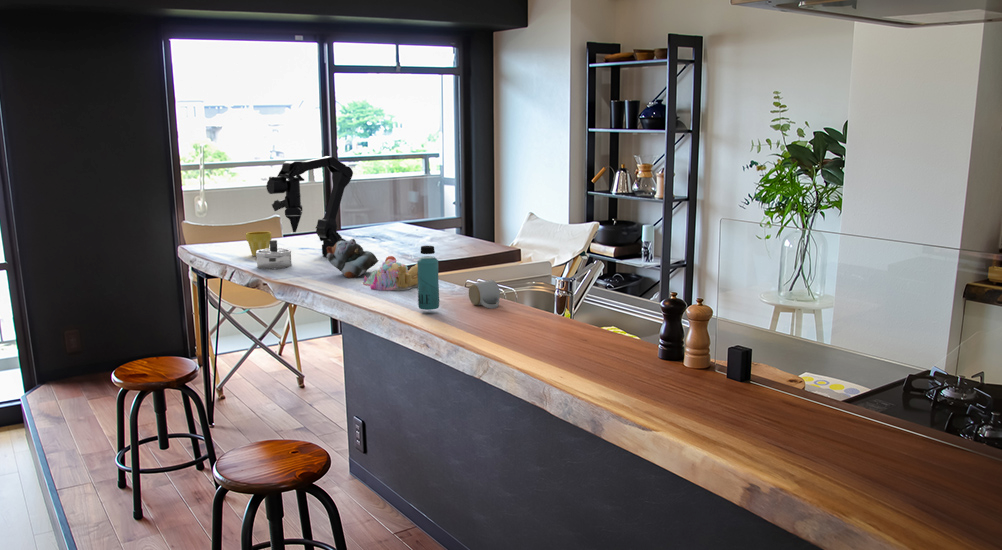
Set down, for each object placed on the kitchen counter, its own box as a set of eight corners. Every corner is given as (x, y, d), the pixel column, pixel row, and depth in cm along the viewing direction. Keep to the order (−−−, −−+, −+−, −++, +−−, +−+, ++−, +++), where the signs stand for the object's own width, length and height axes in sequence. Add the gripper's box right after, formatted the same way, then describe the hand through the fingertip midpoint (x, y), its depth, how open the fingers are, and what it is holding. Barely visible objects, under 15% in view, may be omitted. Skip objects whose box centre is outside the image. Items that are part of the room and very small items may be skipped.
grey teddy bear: (354, 279, 269) (332, 242, 267) (335, 289, 278) (313, 253, 276) (385, 260, 281) (364, 224, 279) (366, 270, 290) (345, 235, 288)
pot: (292, 261, 307) (291, 246, 305) (290, 269, 289) (289, 253, 288) (259, 262, 304) (258, 247, 303) (255, 271, 286) (254, 255, 285)
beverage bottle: (440, 309, 225) (439, 244, 221) (439, 314, 219) (438, 247, 215) (418, 309, 225) (417, 244, 221) (416, 315, 219) (415, 247, 215)
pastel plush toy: (444, 282, 267) (444, 257, 265) (404, 295, 247) (403, 267, 245) (388, 275, 279) (388, 251, 277) (346, 287, 259) (345, 260, 257)
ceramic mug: (467, 303, 233) (467, 280, 232) (488, 300, 237) (488, 277, 236) (483, 310, 225) (484, 286, 223) (505, 307, 229) (506, 283, 227)
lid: (287, 251, 301) (286, 238, 300) (285, 255, 292) (284, 242, 291) (262, 252, 299) (261, 239, 298) (260, 256, 290) (259, 242, 289)
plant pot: (246, 254, 325) (244, 231, 323) (270, 252, 329) (269, 230, 327) (248, 257, 316) (247, 234, 314) (274, 256, 320) (272, 233, 318)
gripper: (273, 191, 310) (276, 228, 313) (270, 194, 292) (272, 234, 295) (301, 190, 313) (303, 227, 316) (299, 194, 295) (301, 233, 298)
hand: (294, 230), depth 306 cm, fingers open, 9 cm apart
